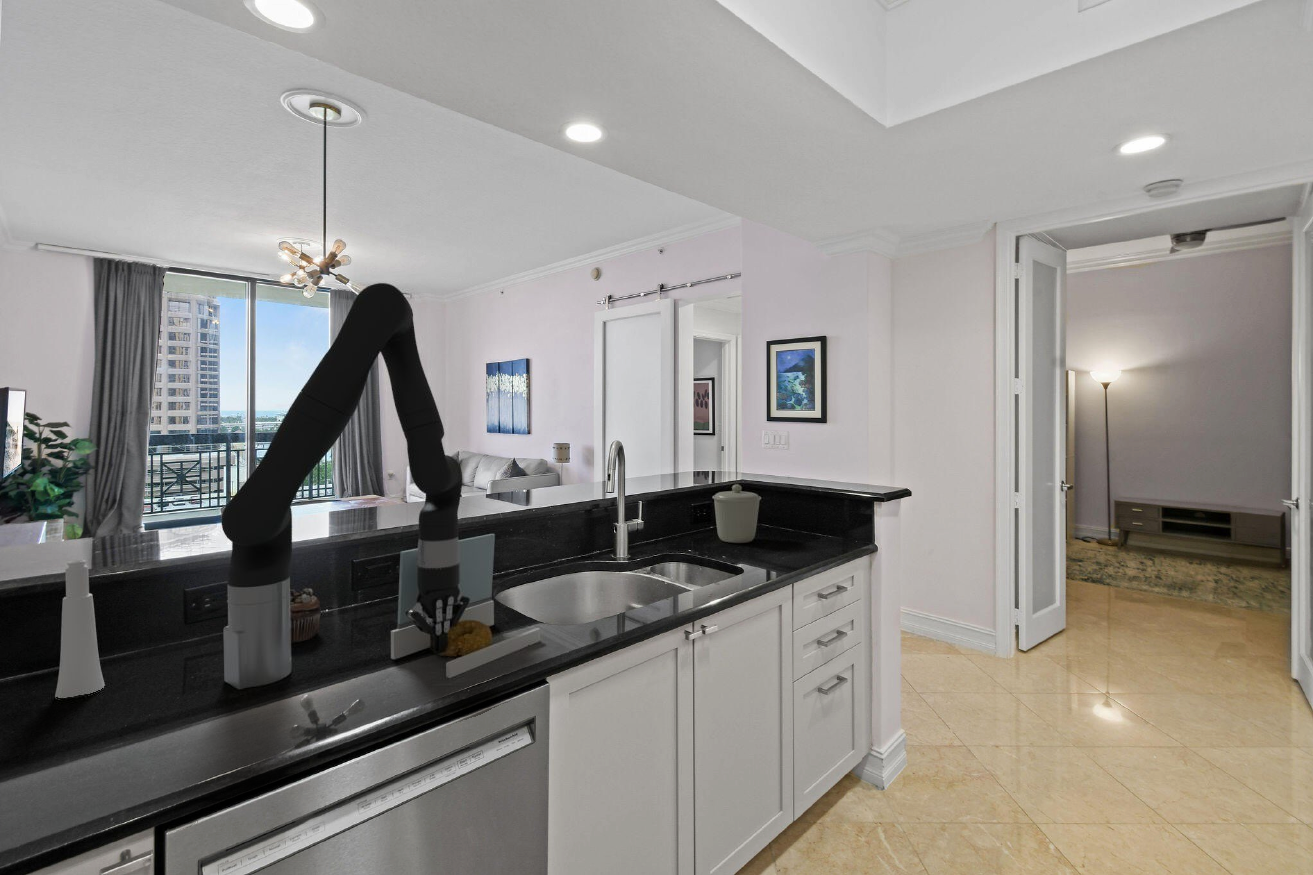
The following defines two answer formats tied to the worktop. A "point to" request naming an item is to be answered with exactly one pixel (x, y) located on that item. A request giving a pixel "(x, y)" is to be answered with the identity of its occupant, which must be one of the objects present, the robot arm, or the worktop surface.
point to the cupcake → (303, 614)
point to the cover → (472, 575)
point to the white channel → (416, 640)
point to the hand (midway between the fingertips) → (439, 652)
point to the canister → (736, 515)
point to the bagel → (467, 638)
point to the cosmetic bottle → (78, 637)
